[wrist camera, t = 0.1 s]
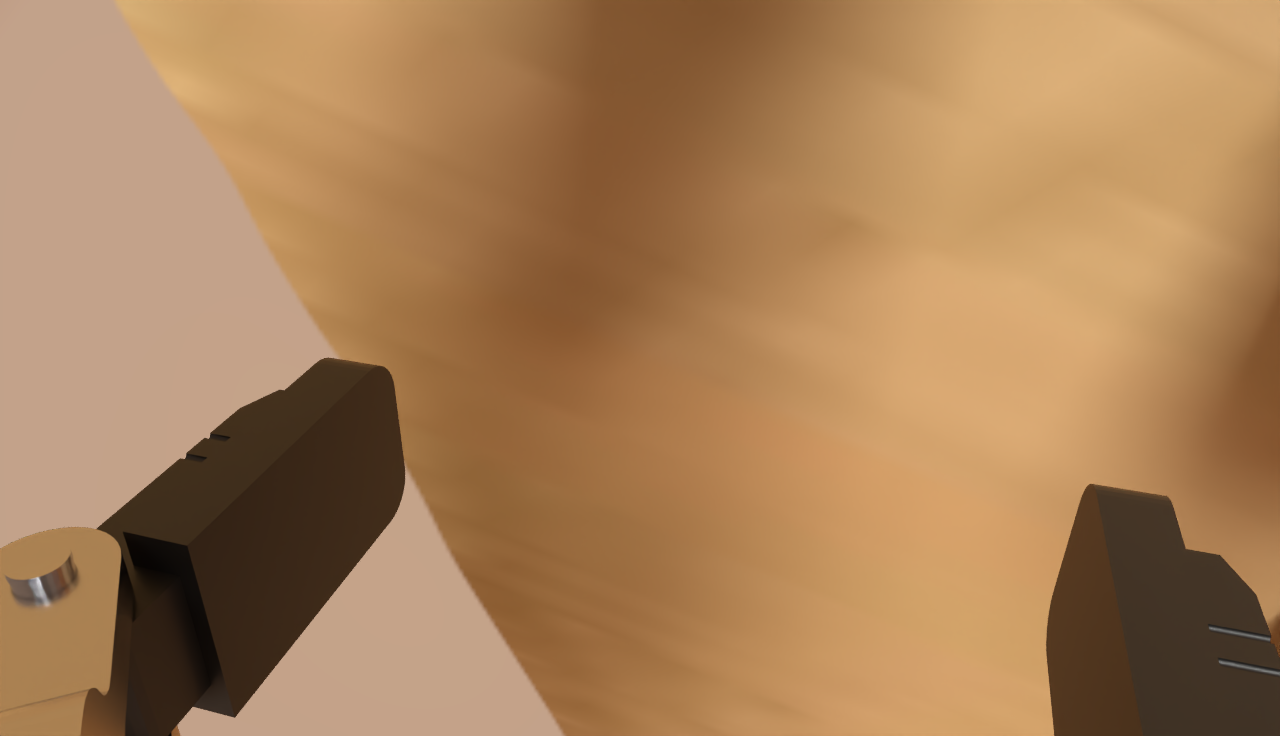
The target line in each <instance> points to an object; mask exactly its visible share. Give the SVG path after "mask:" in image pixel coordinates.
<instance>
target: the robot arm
mask: <svg viewBox="0 0 1280 736" xmlns="http://www.w3.org/2000/svg"><path fill="white" fill-rule="evenodd" d="M404 485H405V465H404V458H403V450H402V442H401V434H400V427H399V419H398V411H397V403H396V395H395V388H394V382H393V379H392V376H391V374H390V372H389V371H388V370H387V369H386V368H385V367H382V366H377V365H371V364H364V363H358V362H352V361H346V360H340V359H334V358H324V359H322V360H320V361H318V362H317V363H316V364H314V365H313V366H312V367H311V368H310V369H309V370H308V371H306V372H305V373H304V374H303V375H302V376H301V377H300V378H299V379H297V380H296V381H295V382H294V383H293V384H291V385H290V386H289V387H288V388H287V389H286V390H285V391H284V390H278V391H276V392H274V393H272V394H270V395H267V396H265V397H263V398H261V399H259V400H257V401H255V402H252V403H250V404H248V405H246V406H244V407H242V408H240V409H239V410H237V411H236V412H235V413H234V414H232V415H231V416H230V417H229V418H228V419H226V420H225V421H224V422H223V423H222V424H221V425H220V426H218V427H217V428H216V429H215V430H213V431H212V432H211V433H210V438H209V439H207V438H204V439H203V440H201V441H200V442H199V443H198V444H197V445H196V446H194V447H193V448H192V449H191V450H190V451H188V452H187V454H186V458H185V459H179V460H178V461H176V462H175V463H174V464H173V465H172V466H171V467H169V468H168V469H167V470H166V471H165V472H163V473H162V474H161V475H160V476H159V477H158V478H156V479H155V480H154V481H153V482H152V483H151V484H149V485H148V486H147V487H146V488H144V489H143V490H142V491H141V492H140V493H138V494H137V495H136V496H135V497H134V498H132V499H131V500H130V501H129V502H128V503H127V504H125V505H124V506H123V507H122V508H121V509H119V510H118V511H117V512H116V513H115V514H113V515H112V516H111V517H110V518H109V519H107V520H106V521H105V522H104V523H103V524H102V525H100V526H99V527H98V528H97V529H92V528H85V527H68V528H58V529H52V530H47V531H43V532H39V533H35V534H33V535H30V536H27V537H24V538H21V539H19V540H17V541H15V542H12V543H10V544H8V545H6V546H4V547H2V548H0V736H180V733H179V730H178V727H177V724H178V723H179V722H180V721H181V720H182V719H183V718H184V716H185V715H186V714H187V713H188V712H189V710H190V709H191V708H192V707H197V708H200V709H204V710H208V711H212V712H216V713H220V714H223V715H227V716H231V717H236V716H237V714H238V713H239V712H240V710H241V709H242V708H243V707H244V705H245V704H246V703H247V702H248V700H249V699H250V698H251V696H252V695H253V694H254V693H255V691H256V690H257V689H258V688H259V686H260V685H261V684H262V683H263V682H264V680H265V679H266V678H267V676H268V675H269V674H270V673H271V671H272V670H273V669H274V668H275V666H276V665H277V664H278V663H279V661H280V660H281V659H282V658H283V656H284V655H285V654H286V653H287V651H288V650H289V649H290V648H291V646H292V645H293V644H294V642H295V641H296V640H297V639H298V637H299V636H300V635H301V634H302V632H303V631H304V630H305V629H306V627H307V626H308V625H309V624H310V622H311V621H312V620H313V619H314V617H315V616H316V615H317V614H318V612H319V611H320V610H321V608H322V607H323V606H324V605H325V603H326V602H327V601H328V600H329V598H330V597H331V596H332V595H333V593H334V592H335V591H336V590H337V588H338V587H339V586H340V585H341V583H342V582H343V581H344V580H345V578H346V577H347V576H348V575H349V573H350V572H351V571H352V569H353V568H354V567H355V566H356V564H357V563H358V562H359V561H360V559H361V558H362V557H363V556H364V554H365V553H366V551H367V550H368V549H369V548H370V547H371V546H372V544H373V543H374V542H375V541H376V539H377V538H378V537H379V535H380V534H381V533H382V532H383V530H384V529H385V528H386V527H387V525H388V524H389V523H390V522H391V520H392V519H393V517H394V516H395V513H396V512H397V510H398V507H399V505H400V502H401V499H402V495H403V490H404ZM1270 638H1271V634H1270V631H1269V628H1268V626H1267V623H1266V620H1265V618H1264V615H1263V612H1262V609H1261V607H1260V604H1259V601H1258V599H1257V596H1256V594H1255V593H1254V592H1253V591H1252V590H1251V588H1250V587H1249V586H1248V585H1247V584H1246V583H1245V582H1244V581H1243V580H1242V579H1241V578H1240V577H1239V575H1238V574H1237V573H1236V572H1235V571H1234V570H1233V569H1232V568H1231V567H1230V566H1229V565H1228V563H1227V562H1226V561H1225V560H1224V559H1223V558H1222V557H1221V556H1220V555H1216V554H1210V553H1205V552H1199V551H1193V550H1187V549H1185V545H1184V542H1183V539H1182V535H1181V532H1180V528H1179V525H1178V522H1177V518H1176V515H1175V512H1174V508H1173V505H1172V503H1171V500H1170V499H1169V498H1168V497H1167V496H1162V495H1156V494H1149V493H1143V492H1137V491H1131V490H1125V489H1119V488H1113V487H1107V486H1101V485H1094V484H1089V485H1088V486H1087V487H1086V489H1085V491H1084V493H1083V495H1082V498H1081V501H1080V504H1079V507H1078V510H1077V514H1076V517H1075V521H1074V524H1073V527H1072V531H1071V534H1070V538H1069V541H1068V544H1067V548H1066V551H1065V555H1064V558H1063V561H1062V565H1061V568H1060V571H1059V575H1058V578H1057V582H1056V585H1055V588H1054V592H1053V596H1052V600H1051V604H1050V610H1049V617H1048V625H1047V640H1046V652H1047V664H1048V674H1049V684H1050V694H1051V705H1052V715H1053V725H1054V736H1280V658H1279V656H1278V653H1277V650H1276V647H1275V645H1274V644H1271V643H1270Z"/></svg>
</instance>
